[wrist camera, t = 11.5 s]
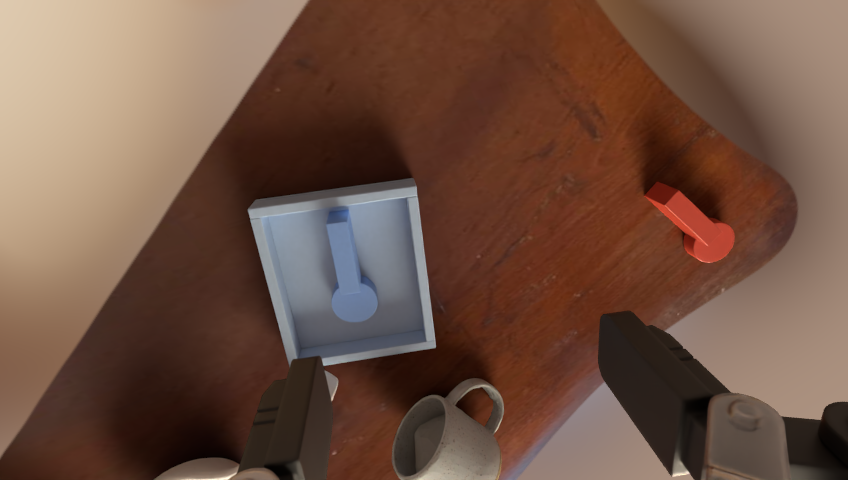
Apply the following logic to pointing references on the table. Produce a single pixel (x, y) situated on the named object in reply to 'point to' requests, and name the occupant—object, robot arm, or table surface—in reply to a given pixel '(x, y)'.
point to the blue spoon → (349, 272)
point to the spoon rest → (219, 459)
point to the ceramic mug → (448, 439)
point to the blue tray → (316, 278)
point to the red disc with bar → (693, 224)
